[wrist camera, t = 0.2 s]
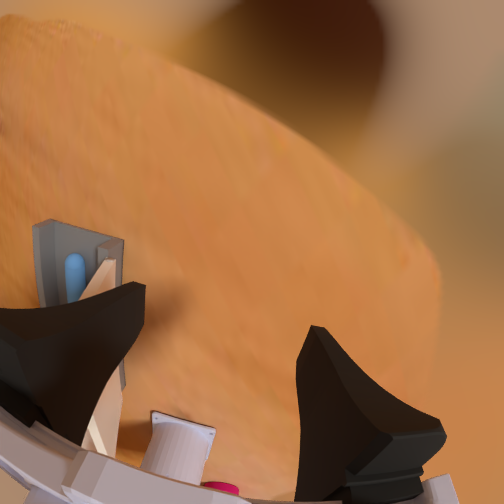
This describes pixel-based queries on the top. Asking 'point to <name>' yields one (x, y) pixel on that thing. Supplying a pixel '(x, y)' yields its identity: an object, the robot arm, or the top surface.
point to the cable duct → (56, 251)
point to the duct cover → (110, 400)
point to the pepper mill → (223, 487)
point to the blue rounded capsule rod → (75, 277)
